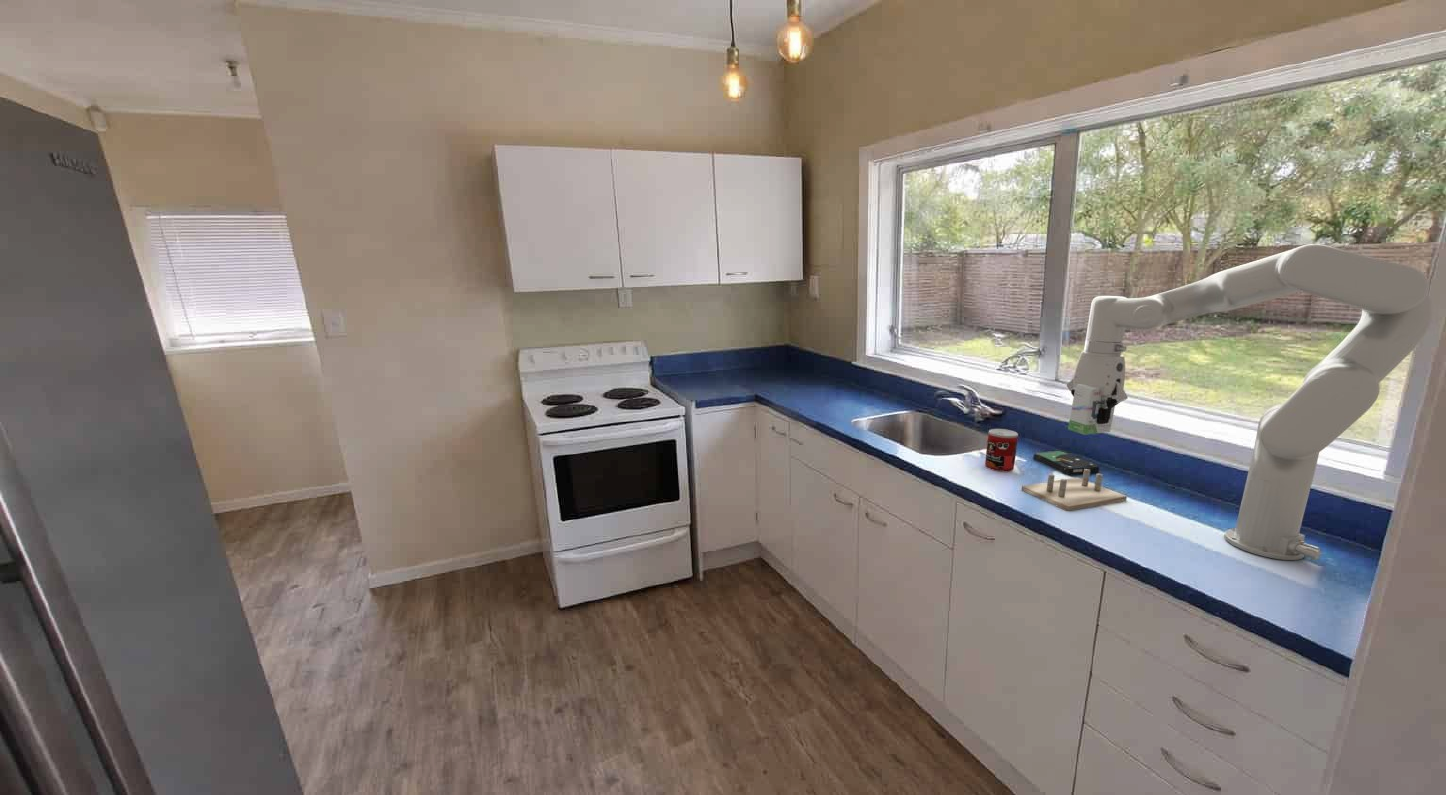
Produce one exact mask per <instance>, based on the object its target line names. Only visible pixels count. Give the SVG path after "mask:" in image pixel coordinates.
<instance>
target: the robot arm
mask: <svg viewBox="0 0 1446 795" xmlns="http://www.w3.org/2000/svg"><path fill="white" fill-rule="evenodd" d="M1429 291H1430V282H1429V279H1428V277H1427V276H1426V274H1424V273H1423V272H1422V271H1421V270H1419V269H1418V268H1415V267H1413V266H1411V265H1410V266H1409V265H1405V264H1400V263H1397V262H1393V261H1387V260H1384V259H1379V258H1375V257H1371V256H1368V255H1363V254H1358V253H1355V252H1351V251H1348V250H1344V249H1340V248H1337V247H1333V246H1330V245H1326V244H1321V243H1308V244H1304V245H1300V246H1297V247H1294V248H1291V249H1289V250H1286V251H1283V252H1280V253H1279V252H1278V253H1276V254H1273V255H1270V256H1266V257H1264V258H1261V259H1258V260H1254V261H1251V262H1248V263H1244V264H1241V265H1238V266H1233V267H1231V268H1227V269H1224V270H1221V271H1218V272H1216V273H1213V274H1211V275H1209V276H1207V277H1204V278H1203V279H1200V280H1198V281H1195V282H1192V283H1189V284H1185V285H1181V286H1179V287H1177V288H1172V289H1170V290H1167V291H1163V292H1159V293H1155V294H1154V295H1149V296H1144V297H1135V298H1127V297H1126V296H1121V295H1120V296H1119V295H1118V296H1117V295H1099V296H1095V297H1094V298H1093V299H1092V301H1091V305H1090V311H1089V317H1088V323H1087V330H1086V336H1085V341H1084V342H1085V343H1084V349H1083V351H1081V353H1080V355H1079V356H1078V357H1079V358H1078V360H1077V364H1076V366H1075V371H1074V375H1073V379H1071V380H1070V381H1069V382H1068V383H1067V384H1066V387H1067V388H1068V390H1069V391H1070V394H1071V395H1072V397H1073V398H1074V393H1075V387H1076V385H1077V384H1084V385H1087V386H1091V387H1094V388H1099V395H1100V396H1101V404H1102V408H1099V412H1098V418H1097V424H1106V423H1108V422H1109V419H1110V414H1111V408H1114V407H1115V406H1118V405H1119V404H1120V403H1122V402H1124V401H1126V400H1128V398H1129V396H1128V395H1127V393H1126V391H1125V388H1124V387H1125V379H1126V378H1125V377H1126V359H1125V355H1123V354H1122V353H1123V352H1124V353H1125V352H1126V351H1127V346H1125V345H1124V338H1125V332H1126V329H1132V330H1136V331H1143V332H1144V331H1152V330H1155V329H1158V328H1160V327H1162V326H1166V325H1169V324H1172V323H1176V322H1180V321H1183V320H1187V319H1191V318H1196V317H1198V316H1203V315H1208V314H1213V313H1220V312H1229V311H1233V310H1237V309H1243V308H1245V307H1248V306H1253V305H1255V304H1258V303H1259V304H1260V303H1263V302H1267V301H1271V300H1274V299H1278V298H1282V297H1285V296H1290V295H1293V294H1297V293H1301V292H1303V293H1305V294H1309V295H1311V296H1315V297H1319V298H1321V299H1324V300H1328V301H1331V302H1332V301H1333V302H1335V303H1340V304H1342V305H1347V306H1349V307H1353V308H1357V309H1359V310H1361V317H1360V319H1359V322H1358V323H1357V324H1356V325H1355V327H1354V328H1353V329H1352V330H1351V331H1350V332H1349V333H1348V334H1347V335H1346V336H1345V337H1344V339H1343V340H1341V342H1340V343H1339V344H1338V345H1337V346H1336V347H1335V348H1334V349H1332V351H1331V352H1329V353H1328V354H1327V355H1326V356H1325V357H1324V358H1323V359H1322V360H1321V361H1320V362H1319V363H1317V364H1316V365H1315V366H1314V367H1313V368H1311V369H1310V370H1309V371H1308V372H1307V373H1306V375H1305V376H1304V378H1303V383H1302V384H1301V385H1300V386H1299V387H1298V388H1297V389H1296V390H1295V391H1294V392H1293V393H1292V394H1291V395H1290V396H1289V397H1288V398H1287V399H1286V400H1285V401H1284V402H1281V403H1279V404H1278V403H1277V404H1274V405H1273V406H1270V407H1269V408H1268V409H1267V410H1265V411H1264V413H1263V414H1262V415H1261V416H1260V418H1259V422H1258V423H1257V424H1258V426H1257V431H1256V436H1255V442H1254V446H1253V450H1252V455H1251V459H1250V465H1249V468H1248V472H1247V478H1246V481H1245V484H1244V490H1243V493H1242V494H1243V495H1242V498H1241V503H1240V507H1239V512H1238V515H1237V520H1236V524H1235V528H1230V529H1226V530H1225V531H1224V537H1223V538H1224V539H1225V540H1226V542H1228V543H1229V544H1231V545H1232V546H1235V547H1236V548H1238V549H1241V550H1242V551H1246V552H1248V553H1251V554H1254V555H1257V556H1261V557H1266V558H1270V559H1276V560H1282V561H1298V560H1301V559H1303V558H1304V557H1307V558H1309V559H1313V560H1315V561H1316V560H1317V561H1318V560H1319V559H1320V558H1321V554H1322V552H1321V548H1320V547H1319V546H1315V545H1313V544H1309V543H1307V542H1306V541H1305V537H1306V535H1305V534H1302V533H1300V531H1301V526H1302V522H1303V519H1304V515H1305V511H1306V507H1307V502H1308V499H1309V496H1310V492H1311V487H1312V485H1313V481H1314V477H1315V472H1316V468H1317V465H1318V459H1319V456H1320V453H1321V452H1322V451H1323V450H1324V449H1326V448H1328V446H1330V445H1331V444H1332V443H1333V442H1334V441H1335V440H1337V438H1338V437H1339V436H1341V435H1342V434H1343V433H1345V432H1346V430H1348V429H1349V428H1350V427H1351V426H1352V425H1353V424H1355V423H1356V422H1357V421H1358V420H1359V419H1360V418H1361V417H1362V416H1363V415H1365V413H1367V412H1368V411H1369V409H1371V407H1373V406H1374V404H1375V403H1376V401H1377V399H1378V397H1379V394H1380V389H1381V387H1380V383H1381V382H1382V381H1383V380H1384V379H1385V378H1386V377H1387V376H1388V375H1389V374H1391V372H1392V371H1394V370H1395V369H1396V367H1398V366H1399V365H1400V363H1402V362H1403V361H1404V360H1405V359H1406V358H1407V357H1408V356H1409V355H1410V354H1411V353H1412V352H1413V351H1414V350H1415V349H1416V347H1417V346H1419V344H1420V343H1421V342H1422V340H1423V339H1424V338H1425V336H1426V334H1427V332H1428V331H1429V329H1430V326H1431V323H1432V318H1433V304H1432V300H1431V295H1430V294H1429ZM1113 393H1114V394H1113ZM1113 395H1116V396H1117V397H1116V398H1114V397H1113ZM1107 398H1108V399H1107ZM1107 400H1108V401H1107ZM1115 408H1116V407H1115ZM1115 408H1114V409H1115Z"/></svg>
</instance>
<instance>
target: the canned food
mask: <svg viewBox="0 0 1446 795" xmlns="http://www.w3.org/2000/svg"><path fill="white" fill-rule="evenodd" d="M1018 439H1019V433H1018V432H1016V431H1014V430H1010V429H1006V428H993V429H992V428H991V429H989V430H988V434H987V441H986V442H987V443H986V451H985V461H984V464H985V467H986V468H988V469H989V468H990V469H989V470H992V469H993V471H996V470H997V471H996V472H1010V471H1013V470H1014V468H1015V463H1016V456H1017V449H1018V448H1017V447H1018V441H1019V440H1018Z"/></svg>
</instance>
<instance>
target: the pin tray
mask: <svg viewBox="0 0 1446 795" xmlns="http://www.w3.org/2000/svg"><path fill="white" fill-rule="evenodd" d="M1090 475H1091V474H1090V470H1089V469H1084V473H1083V474H1082V478H1081V477H1070V478H1066V479H1065V478H1061V479H1059V480H1055V477H1056V475H1055V474H1051V473H1049V474H1048V475H1047V481H1045V482H1040V483H1032V484H1026V485H1022V486H1021V491H1022V490H1023V492H1025V493H1027V494H1030V495H1032V496H1034V497H1035V498H1038V499H1040V500H1042V499H1044V500H1046V501H1045V502H1047V501H1048V502H1047V503H1049V502H1050V503H1049V504H1051V503H1052V504H1051V505H1053V504H1054V505H1053V506H1055V505H1057V506H1056V507H1058V508H1060V507H1061V508H1060V509H1063V510H1064V511H1067V512H1068V511H1074V510H1080V509H1086V508H1087V509H1088V508H1092V507H1096V506H1097V507H1098V506H1102V505H1108V504H1113V503H1119V502H1125V501H1127V498H1128V496H1127V495H1125V494H1122V493H1119V492H1118V491H1114V490H1111V489H1109V488H1106V487H1104V486H1102V484H1103V482H1102V481H1103V474H1102V473H1095V475H1096V476H1095V481H1094V482H1091V481H1089V479H1090ZM1044 500H1043V501H1044Z"/></svg>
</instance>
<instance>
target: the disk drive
mask: <svg viewBox="0 0 1446 795" xmlns="http://www.w3.org/2000/svg"><path fill="white" fill-rule="evenodd" d="M1032 458H1033V459H1032V460H1035V461H1037V462H1039V463H1041V464H1043V465H1046V466H1047V467H1050V468H1052V469H1053V470H1056V471H1058V472H1060V473H1063V474H1065V475H1067V476H1079V475H1080V476H1081V475H1082V476H1083V473H1084V469H1089V470H1090V475H1093V474H1094V473H1095V474H1100V473H1099V472H1100V465H1098V464H1095V463H1093V462H1091V461H1087V460H1086V459H1083V458H1080V457H1079V456H1075V455H1073V454H1071V453H1068V452H1066V451H1064V450H1053V451H1049V450H1048V451H1045V452H1043V451H1042V452H1034V454H1033V456H1032ZM1095 474H1094V475H1095Z"/></svg>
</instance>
